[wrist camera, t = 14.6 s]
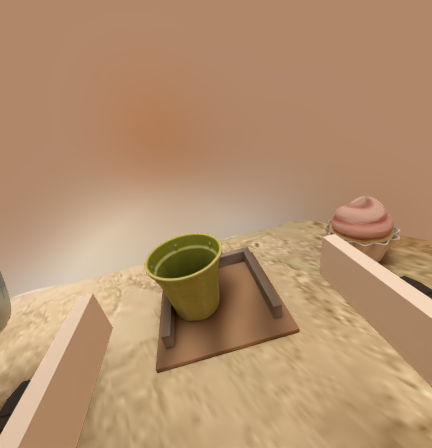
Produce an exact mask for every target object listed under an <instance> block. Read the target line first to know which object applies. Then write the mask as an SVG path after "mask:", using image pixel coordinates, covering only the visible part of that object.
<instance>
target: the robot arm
mask: <svg viewBox="0 0 432 448" xmlns="http://www.w3.org/2000/svg"><path fill="white" fill-rule="evenodd" d="M320 274H321V275H322V276H323V277H324V278H325V279H326V280H327V281H328V282H329V283H330V284H331V285H332V286H333V287H334V288H335V289H336V290H337V292H338V293H339V294H340V295H341V296H342V297H343V298H344V299H345V300H346V301H347V302H348V303H349V304H350V305H351V306H352V307H353V308H354V309H355V310H356V311H357V312H358V313H359V314H360V315H361V316H362V317H363V318H364V319H365V320H366V321H367V322H368V323H369V324H370V325H371V326H372V327H373V328H374V329H375V330H376V331H377V332H378V333H379V334H380V335H381V336H382V337H383V338H384V339H385V340H386V341H387V342H388V343H389V344H390V345H391V346H392V347H393V348H394V349H395V350H396V351H397V352H398V353H399V354H400V355H401V356H402V357H403V358H404V359H405V360H406V361H407V362H408V363H409V364H410V365H411V366H412V367H413V368H414V369H415V370H416V372H417V373H418V374H419V375H420V376H421V377H422V378H423V379H424V380H425V381H426V382H427V383H428V384H429V385H430V386H431V387H432V290H431V289H430V288H428V287H427V286H425V285H424V284H422V283H420V282H418V281H416V280H413V279H411V278H408V277H406V276H403V277H398V276H396V275H395V274H393V273H392V272H390V271H389V270H388V269H386V268H385V267H383V266H382V265H380V264H379V263H377V262H376V261H374V260H373V259H371V258H370V257H368V256H367V255H365V254H364V253H362V252H361V251H359V250H358V249H356V248H355V247H353V246H352V245H350V244H349V243H347V242H346V241H344V240H343V239H341V238H340V237H338V236H337V235H335V234H332V235H328V236H324V237H323V238H322V250H321V261H320ZM10 315H11V303H10V298H9V294H8V291H7V288H6V285H5V282H4V280H3V277H2V275H1V272H0V333H1V332H2V331H3V329H4V328H5V327H6V325H7V322H8V320H9V319H10ZM112 328H113V327H112V325H111V324H110V322H109V320H108V319H107V317H106V315H105V313H104V312H103V310H102V308H101V307H100V305H99V303H98V301H97V300H96V298H95V296H94V295H93V293H92V294H88V295H84V296H80V297H77V299H76V301H75V303H74V305H73V306H72V308H71V310H70V312H69V313H68V315H67V317H66V319H65V321H64V322H63V324H62V326H61V328H60V329H59V331H58V333H57V335H56V337H55V338H54V340H53V342H52V344H51V345H50V347H49V349H48V351H47V353H46V354H45V356H44V358H43V360H42V361H41V363H40V365H39V367H38V369H37V370H36V372H35V374H34V376H33V378H32V379H31V380H28V381H24V382H22V383H21V384H20V386H19V387H18V388H17V389H16V390H15V391H14V392H13V394H12V395H11V396H10V397H9V398H8V399H7V401H6V403H5V404H4V406H3V408H2V409H1V411H0V448H76V447H77V444H78V440H79V437H80V434H81V430H82V427H83V424H84V421H85V417H86V414H87V411H88V407H89V404H90V401H91V397H92V394H93V391H94V388H95V384H96V381H97V378H98V374H99V371H100V368H101V365H102V361H103V358H104V355H105V351H106V348H107V345H108V342H109V338H110V335H111V332H112Z"/></svg>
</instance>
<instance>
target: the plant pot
mask: <svg viewBox="0 0 432 448" xmlns="http://www.w3.org/2000/svg"><path fill="white" fill-rule="evenodd" d="M221 254H222V244H221V242H220V241H219V240H218V239H217V238H216V237H215V236H212V235H210V234H205V233H190V234H184V235H180V236H177V237H174V238H171V239H169V240H167V241H165V242H163V243H161V244H160V245H158V246H157V247H156V248H155V249H153V250H152V251H151V252H150V253H149V255H148V256H147V258H146V260H145V264H144V268H145V271H146V273H147V274H148V275H149V276H150V277H151V278H152V279H154V280H155V281H156V282H157V283H158V284H159V285H160V286H161V287H162V289H163V291H164V292H165V294H166V296H167V297H168V299H169V300H170V302H171V304H172V305H173V307H174V309H175V311H176V312H177V314H178V316H179V317H180V318H181V319H183V320H185V321H202V320H204V319H206V318H208V317H210V316H211V315H212V314H213V313H214V312H215V311H216V309H217V308H218V305H219V299H220V297H219V275H218V265H219V260H220V256H221Z"/></svg>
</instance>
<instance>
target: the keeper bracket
mask: <svg viewBox="0 0 432 448" xmlns="http://www.w3.org/2000/svg"><path fill="white" fill-rule="evenodd" d="M218 275H219V297H220V299H219V305H218V308H217V309H216V311H215V312H214V313H213V314H212V315H211V316H210V317H208V318H206V319H204V320H202V321H185V320H183V319H181V318H180V317H179V316H178V314H177V312H176V311H175V309H174V307H173V305H172V304H171V302H170V300H169V299H168V297H167V296H166V294H165V292H164V291H163V294H162V306H161V317H160V328H159V339H158V351H157V362H156V371H157V373H158V372H161V371H165V370H168V369H172V368H175V367H179V366H182V365H186V364H189V363H193V362H196V361H200V360H203V359H207V358H210V357H213V356H217V355H220V354H224V353H227V352H231V351H234V350H238V349H241V348H245V347H248V346H252V345H255V344H259V343H262V342H265V341H269V340H272V339H276V338H279V337H283V336H286V335H290V334H293V333H297V332H299V327H298V326H297V324H296V323H295V321H294V319H293V318H292V316H291V315H290V313H289V311H288V310H287V308H286V306H285V305H284V303H283V302H282V300H281V298H280V297H279V295H278V293H277V292H276V290H275V289H274V287H273V285H272V284H271V282H270V280H269V279H268V277H267V276H266V274H265V272H264V271H263V269H262V268H261V266H260V264H259V263H258V261H257V259H256V258H255V256H254V255H253V253H252V252H250V251H249V249H248V248H247V247H246V248H242V249H238V250H234V251H230V252H226V253H222V254H221V256H220V260H219V265H218Z"/></svg>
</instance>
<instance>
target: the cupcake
mask: <svg viewBox="0 0 432 448" xmlns="http://www.w3.org/2000/svg"><path fill="white" fill-rule="evenodd" d="M324 228H325V230H326V231H327V233H328V235H332V234H335V235H337V236H338V237H340V238H341V239H343V240H344V241H346V242H347V243H349V244H350V245H352V246H353V247H355V248H356V249H358V250H359V251H361V252H362V253H364V254H365V255H367V256H368V257H370V258H371V259H373V260H374V261H376V262H377V263H378V262H379V261H381V259H382V258H383V256H384V254H385V253H386V251H387V250H388V249H389V247H390V246H391V245H393V244H394V243H395V242H397V241H398V240H399V239H400V237H399V236H398V235H397V234H398V233H399V232H400V229H398V228H396V227H393V220H392V218H391V216H390V215H389V214H388V213H387V212H386V210H385V208H384V206H383V205H382V204H381V203H380V202H378V201H377V200H376V199H374V198H372V197H369V196H363V197H360V198H356V199H355V200H353V201H352V202H351V203H349V205H345V206H341V207H340V208H338V209H337V210H336V212H335V216H334V218H333V219H332V220H328V225H326V226H325V227H324Z"/></svg>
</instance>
